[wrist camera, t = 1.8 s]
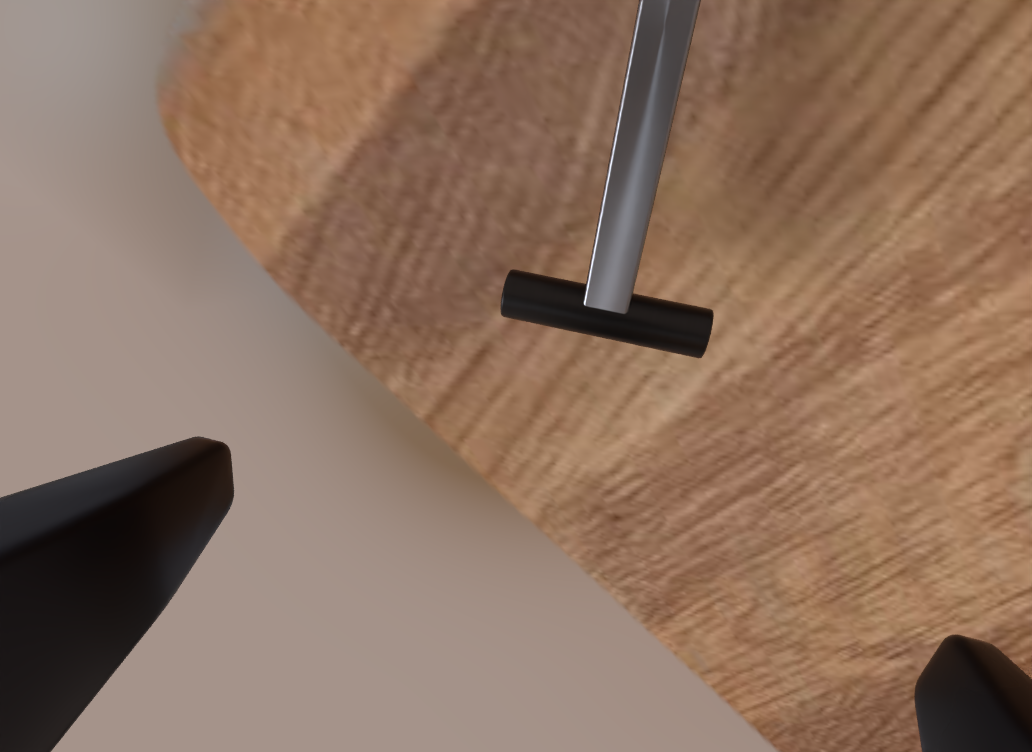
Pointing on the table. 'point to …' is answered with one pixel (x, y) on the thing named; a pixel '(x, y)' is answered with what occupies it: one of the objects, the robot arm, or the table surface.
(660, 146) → the lever
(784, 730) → the table surface
